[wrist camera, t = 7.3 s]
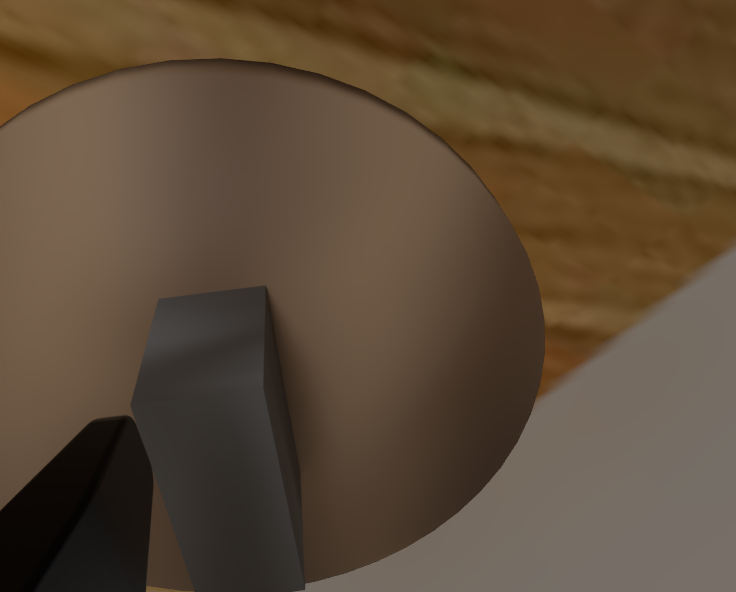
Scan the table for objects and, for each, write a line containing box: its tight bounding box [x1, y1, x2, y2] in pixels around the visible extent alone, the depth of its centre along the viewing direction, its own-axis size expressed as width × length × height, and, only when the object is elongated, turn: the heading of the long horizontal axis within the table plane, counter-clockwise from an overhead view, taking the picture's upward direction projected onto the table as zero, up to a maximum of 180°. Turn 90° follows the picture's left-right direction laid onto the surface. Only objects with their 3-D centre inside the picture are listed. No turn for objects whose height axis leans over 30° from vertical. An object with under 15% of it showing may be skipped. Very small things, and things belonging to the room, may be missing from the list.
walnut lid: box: [0, 58, 545, 592], centre depth 14 cm, size 13×13×4 cm
